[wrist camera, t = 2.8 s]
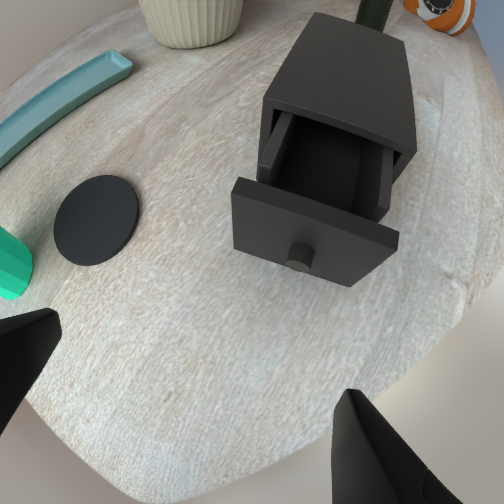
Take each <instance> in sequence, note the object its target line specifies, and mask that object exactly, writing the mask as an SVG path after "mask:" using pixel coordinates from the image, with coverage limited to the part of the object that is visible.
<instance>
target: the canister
mask: <svg viewBox="0 0 504 504" xmlns="http://www.w3.org/2000/svg"><path fill="white" fill-rule="evenodd" d="M139 3H140V6H141V8H142V11H143V14H144V17H145V19H146V22H147V25H148V27H149V30H150V32H151V34H152V36H153V37H154V39H155V40H156V41H157V42H158V43H160V44H161V45H164V46H166V47H170V48H180V49H183V48H186V49H188V48H196V47H203V46H207V45H212V44H215V43H218V42H220V41H223V40H224V39H227V38H228V37H229V36H231V35H232V33H234V31H235V30H236V28H237V26H238V24H239V20H240V16H241V11H242V5H243V0H139Z"/></svg>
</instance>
